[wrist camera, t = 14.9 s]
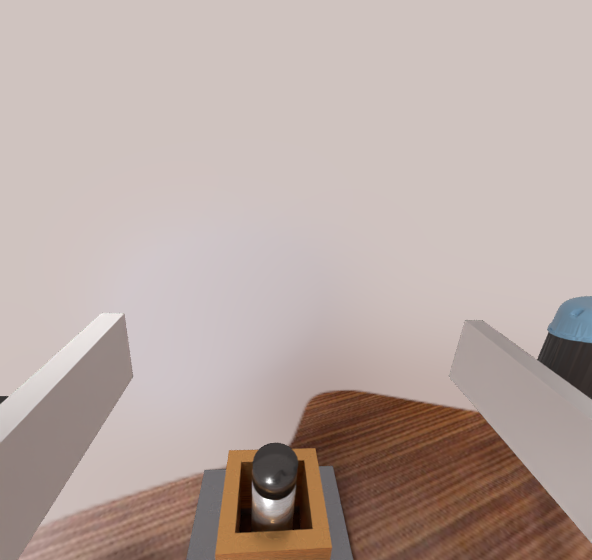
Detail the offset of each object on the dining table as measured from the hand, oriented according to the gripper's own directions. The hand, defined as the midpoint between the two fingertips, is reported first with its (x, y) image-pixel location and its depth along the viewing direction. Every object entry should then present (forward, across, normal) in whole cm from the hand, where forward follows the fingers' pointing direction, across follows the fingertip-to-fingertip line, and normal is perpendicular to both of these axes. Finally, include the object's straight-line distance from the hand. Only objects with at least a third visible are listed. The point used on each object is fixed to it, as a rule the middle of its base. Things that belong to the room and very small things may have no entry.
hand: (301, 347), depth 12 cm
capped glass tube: (+10, 0, -30) cm, 31 cm away
